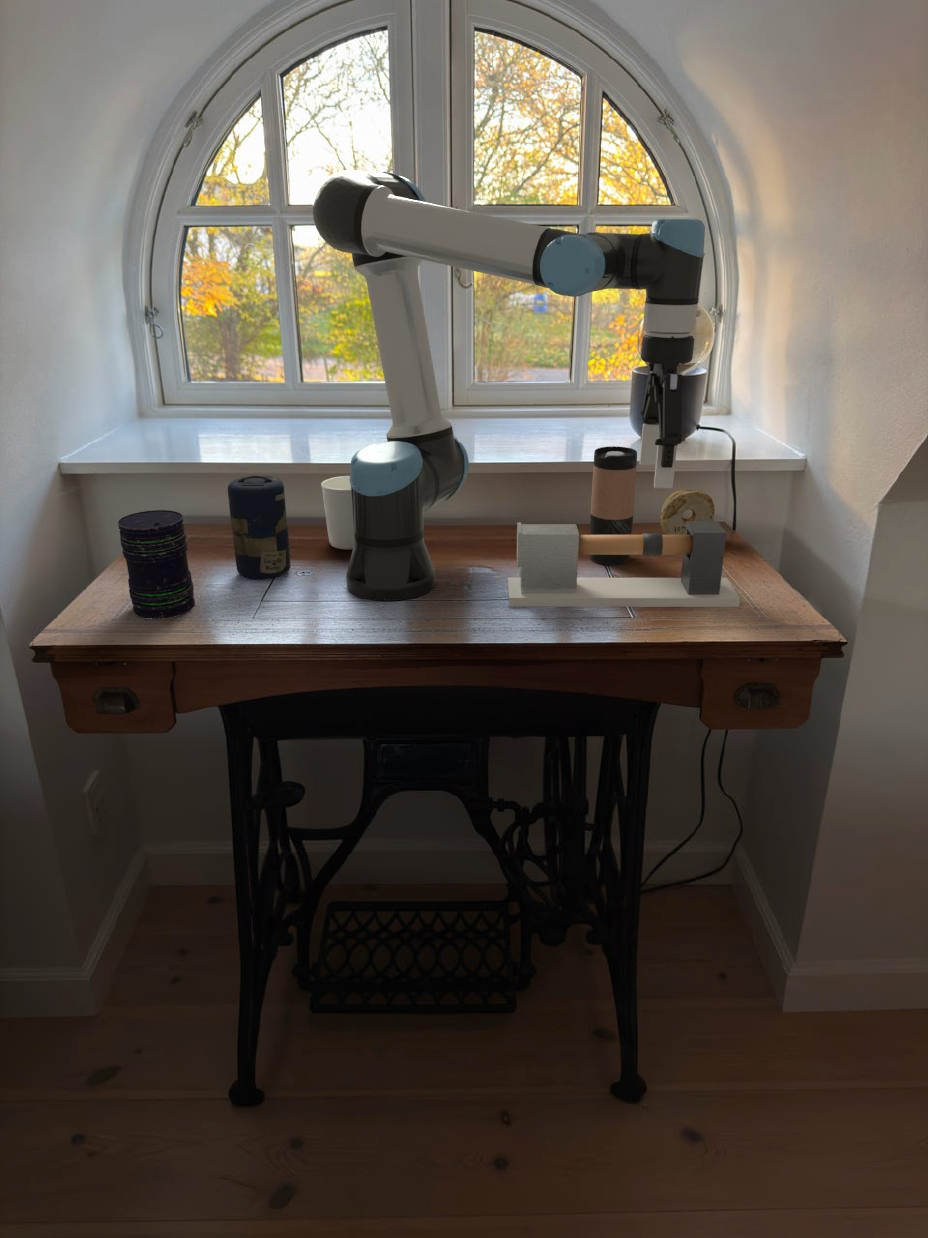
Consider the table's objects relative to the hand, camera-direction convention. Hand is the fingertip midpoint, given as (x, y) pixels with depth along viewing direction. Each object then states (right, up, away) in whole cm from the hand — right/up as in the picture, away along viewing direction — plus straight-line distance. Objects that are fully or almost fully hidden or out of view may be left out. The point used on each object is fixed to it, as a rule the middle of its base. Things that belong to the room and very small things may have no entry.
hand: (655, 475), depth 139 cm
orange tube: (-2, -12, +5) cm, 13 cm away
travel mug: (-3, -11, +25) cm, 28 cm away
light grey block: (-16, -17, +8) cm, 25 cm away
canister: (-65, -15, +19) cm, 70 cm away
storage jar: (-79, -21, +6) cm, 82 cm away
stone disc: (+13, -7, +34) cm, 38 cm away
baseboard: (-4, -19, +8) cm, 21 cm away
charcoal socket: (+9, -17, +7) cm, 21 cm away
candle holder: (-52, -8, +34) cm, 63 cm away
